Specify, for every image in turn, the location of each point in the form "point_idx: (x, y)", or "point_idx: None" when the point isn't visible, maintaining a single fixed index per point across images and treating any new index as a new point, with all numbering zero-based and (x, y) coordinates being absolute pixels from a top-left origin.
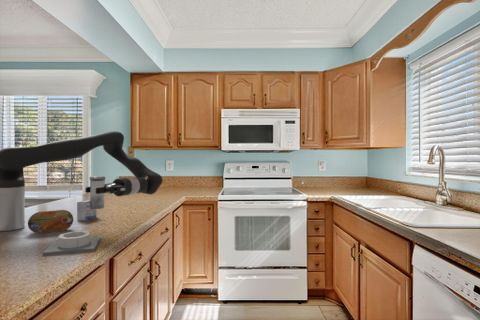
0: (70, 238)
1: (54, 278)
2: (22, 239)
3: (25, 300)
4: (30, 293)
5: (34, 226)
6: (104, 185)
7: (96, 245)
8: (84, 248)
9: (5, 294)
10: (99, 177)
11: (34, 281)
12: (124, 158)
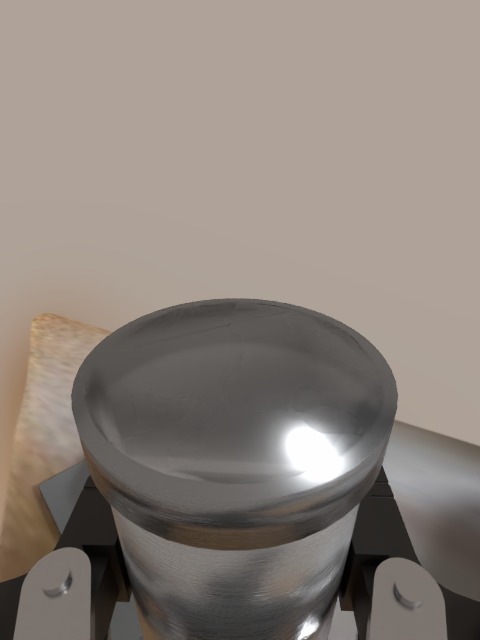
0: None
1: (44, 362)
2: (460, 479)
3: (40, 325)
4: (49, 333)
5: None
6: (129, 564)
7: (59, 531)
8: (77, 469)
9: (87, 325)
10: (118, 330)
11: (76, 349)
12: None
